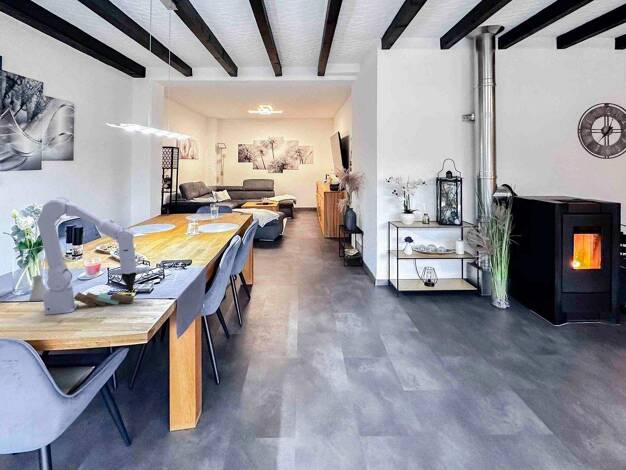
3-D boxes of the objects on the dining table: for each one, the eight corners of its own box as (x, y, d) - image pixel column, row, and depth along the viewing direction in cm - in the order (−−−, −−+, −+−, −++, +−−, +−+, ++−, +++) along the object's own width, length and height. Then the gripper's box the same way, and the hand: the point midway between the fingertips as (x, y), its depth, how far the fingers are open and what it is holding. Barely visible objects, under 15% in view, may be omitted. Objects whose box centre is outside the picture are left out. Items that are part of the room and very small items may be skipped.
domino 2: (104, 306, 150) (83, 299, 147) (106, 302, 154) (86, 295, 151) (106, 303, 150) (85, 295, 147) (108, 299, 154) (88, 292, 151)
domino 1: (93, 307, 149) (73, 298, 146) (96, 303, 153) (76, 295, 150) (95, 304, 149) (75, 295, 146) (98, 300, 153) (78, 292, 150)
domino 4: (131, 303, 153) (110, 299, 150) (132, 300, 157) (112, 295, 154) (132, 300, 153) (111, 296, 150) (133, 296, 157) (113, 292, 154)
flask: (39, 302, 154) (36, 279, 152) (25, 301, 156) (21, 278, 154) (55, 296, 161) (51, 274, 159) (41, 295, 163) (37, 273, 161)
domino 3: (117, 305, 151) (96, 299, 149) (119, 301, 155) (99, 296, 153) (118, 301, 151) (97, 296, 149) (121, 298, 155) (100, 292, 152)
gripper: (105, 263, 145) (109, 295, 148) (145, 260, 149) (148, 292, 152) (109, 258, 152) (113, 290, 154) (147, 255, 156) (150, 286, 159)
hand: (130, 290), depth 154 cm, fingers closed
